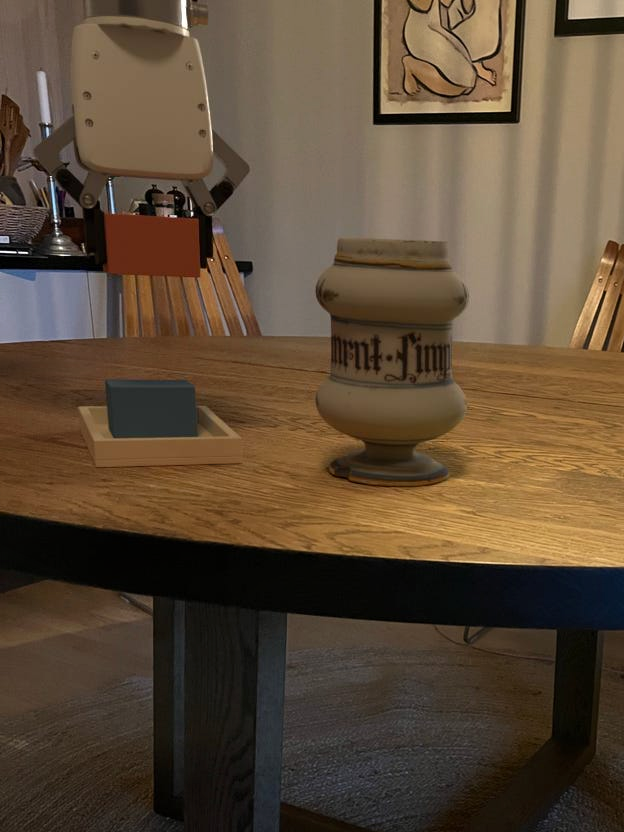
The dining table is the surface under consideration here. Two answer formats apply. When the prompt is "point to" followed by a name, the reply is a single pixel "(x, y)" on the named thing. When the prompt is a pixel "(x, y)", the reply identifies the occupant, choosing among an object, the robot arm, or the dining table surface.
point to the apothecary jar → (391, 356)
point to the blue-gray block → (151, 408)
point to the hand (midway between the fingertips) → (151, 264)
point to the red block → (151, 245)
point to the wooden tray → (160, 443)
